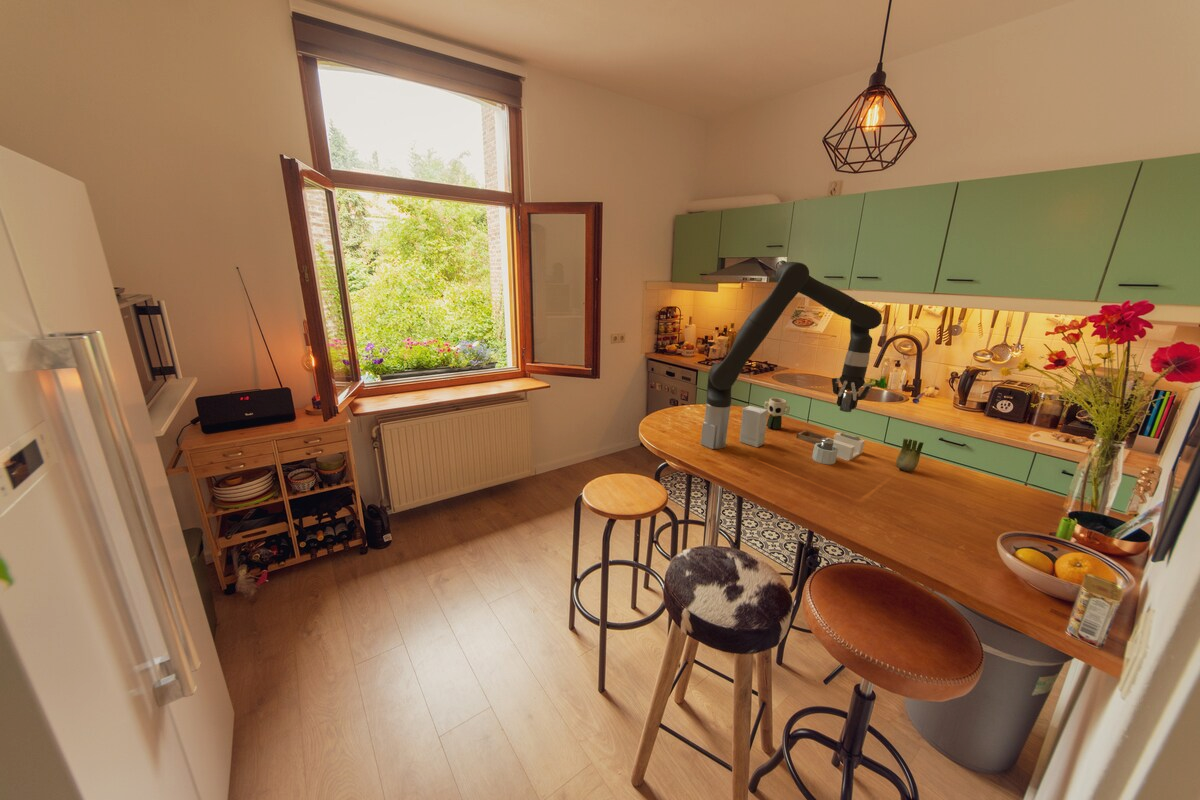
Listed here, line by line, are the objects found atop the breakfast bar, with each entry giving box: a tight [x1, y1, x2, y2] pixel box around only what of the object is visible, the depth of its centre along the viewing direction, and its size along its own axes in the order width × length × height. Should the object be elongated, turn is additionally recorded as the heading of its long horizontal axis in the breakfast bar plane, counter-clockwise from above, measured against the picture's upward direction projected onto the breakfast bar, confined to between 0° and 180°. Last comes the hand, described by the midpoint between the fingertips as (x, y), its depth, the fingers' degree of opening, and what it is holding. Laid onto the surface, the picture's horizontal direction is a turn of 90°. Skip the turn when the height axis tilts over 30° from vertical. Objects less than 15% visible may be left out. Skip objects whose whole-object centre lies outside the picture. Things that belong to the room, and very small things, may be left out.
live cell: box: [839, 389, 853, 413], centre depth 162 cm, size 4×4×8 cm
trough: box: [796, 429, 833, 445], centre depth 177 cm, size 8×12×2 cm, turn 39°
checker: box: [829, 431, 865, 462], centre depth 166 cm, size 12×10×7 cm
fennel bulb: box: [895, 438, 925, 473], centre depth 153 cm, size 6×5×12 cm
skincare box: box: [739, 405, 768, 448], centre depth 173 cm, size 8×6×15 cm
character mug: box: [763, 397, 791, 430], centre depth 190 cm, size 11×7×13 cm, turn 51°
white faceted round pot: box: [811, 443, 838, 465], centre depth 159 cm, size 8×8×6 cm
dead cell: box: [820, 437, 834, 451], centre depth 158 cm, size 4×4×8 cm
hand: (845, 407), depth 163 cm, fingers closed on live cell, 4 cm apart
